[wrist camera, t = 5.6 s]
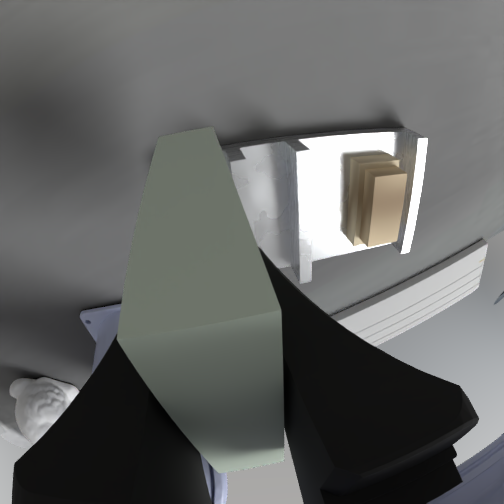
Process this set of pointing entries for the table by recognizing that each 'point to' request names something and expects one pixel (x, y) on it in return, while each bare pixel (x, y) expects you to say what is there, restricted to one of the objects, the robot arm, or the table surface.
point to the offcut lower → (362, 190)
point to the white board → (416, 297)
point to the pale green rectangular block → (204, 308)
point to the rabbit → (40, 404)
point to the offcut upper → (382, 205)
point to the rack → (316, 190)
